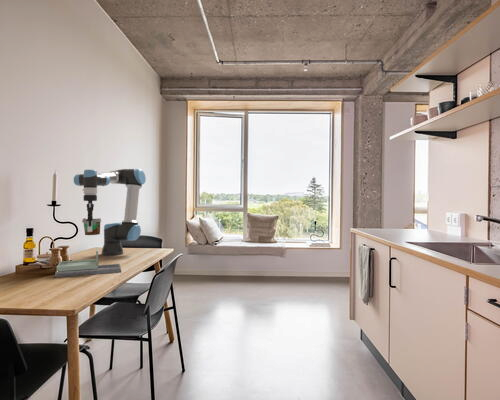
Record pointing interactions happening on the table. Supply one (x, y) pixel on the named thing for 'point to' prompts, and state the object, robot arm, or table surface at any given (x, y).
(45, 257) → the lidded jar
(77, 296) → the table surface
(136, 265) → the table surface
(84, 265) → the pale green tray
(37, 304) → the table surface
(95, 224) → the food container
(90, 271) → the grey board
